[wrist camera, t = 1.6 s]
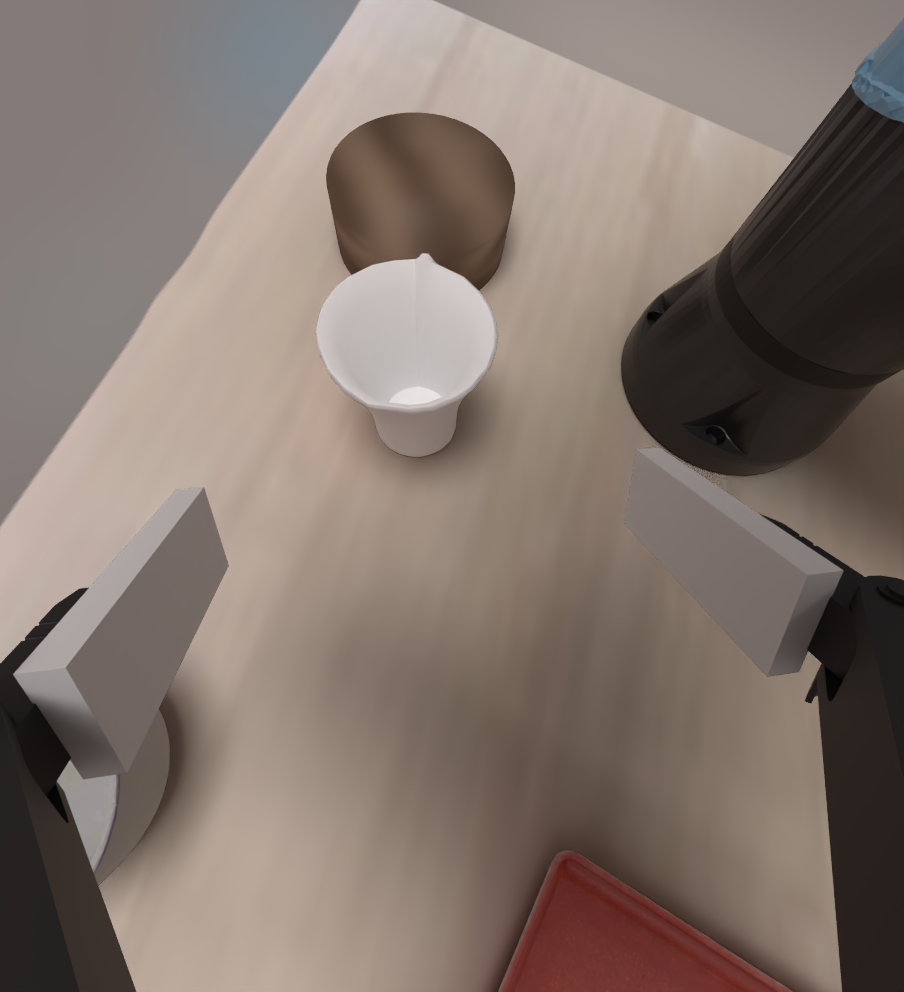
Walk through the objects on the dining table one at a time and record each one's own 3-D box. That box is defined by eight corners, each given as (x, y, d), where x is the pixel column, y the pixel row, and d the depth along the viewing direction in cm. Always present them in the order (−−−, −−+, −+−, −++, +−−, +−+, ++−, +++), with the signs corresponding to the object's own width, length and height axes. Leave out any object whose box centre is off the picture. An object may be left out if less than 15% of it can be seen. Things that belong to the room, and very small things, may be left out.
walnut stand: (473, 167, 39) (481, 102, 35) (525, 288, 36) (541, 234, 31) (322, 191, 37) (308, 125, 33) (360, 322, 34) (351, 269, 29)
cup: (487, 377, 33) (515, 270, 24) (458, 496, 30) (477, 429, 21) (368, 347, 33) (348, 229, 24) (328, 463, 30) (286, 382, 21)
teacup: (88, 621, 26) (-46, 613, 19) (242, 723, 25) (168, 758, 18) (-123, 878, 22) (-402, 1000, 15) (52, 1012, 21) (-151, 1218, 14)
